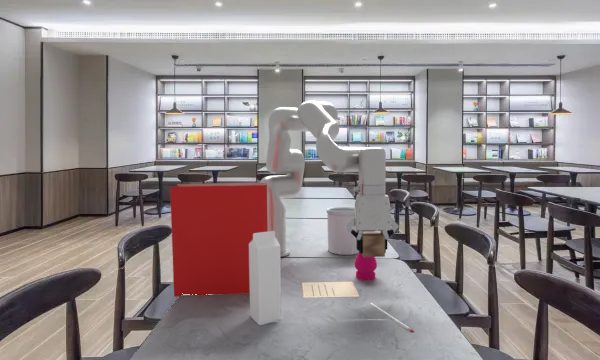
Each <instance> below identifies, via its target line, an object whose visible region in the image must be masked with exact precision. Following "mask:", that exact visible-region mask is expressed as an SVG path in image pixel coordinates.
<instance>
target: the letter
mask: <svg viewBox="0 0 600 360" xmlns="http://www.w3.org/2000/svg"><path fill="white" fill-rule="evenodd" d="M301 286H302V297H303V298H304V299H307V298H308V299H309V298H310V299H311V298H318V299H319V298H357V297H358V298H359V297H360V294H359V292H358V290H357V288H356V286H355V284H354V282H353V281H324V282H323V281H322V282H321V281H318V282H313V281H312V282H307V281H306V282H301Z"/></svg>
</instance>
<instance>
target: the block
mask: <svg viewBox="0 0 600 360" xmlns="http://www.w3.org/2000/svg"><path fill="white" fill-rule="evenodd" d="M362 241H363V253H362V255H363V257H375V258H380V257H381V258H385V257H386V255H385V254H386V253H385V235H383V234H382V233H381V231H364V232H363V235H362Z"/></svg>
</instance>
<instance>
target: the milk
mask: <svg viewBox="0 0 600 360" xmlns="http://www.w3.org/2000/svg"><path fill="white" fill-rule="evenodd" d="M281 262H282V261H281V257H280V244H279V243H278V241H277V239H276V237H275V231H269V232H261V233H254V234H253V240H252V241H251V242H250V243H249V280H250V293H249V317H251V318H252V320H254V322H255V323H256V324H257V325H258V326H264V325H267V324H271V323H274V322H275V323H276V322H277V321H281V320H282V287H281V286H282V281H281V280H282V279H281V278H282V277H281V275H282V273H281V271H282V270H281Z"/></svg>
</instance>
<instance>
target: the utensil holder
mask: <svg viewBox="0 0 600 360" xmlns="http://www.w3.org/2000/svg"><path fill="white" fill-rule="evenodd" d="M354 210H355V206H332V207H328V208H326V213H327V218H326V219H327V249H328V252H330V253H332V254H334V255H342V256H343V255H344V256H345V255H346V256H348V255H351V256H352V255H358V252H359V251H358V250H357V238H355V237H354V236H353V235H352V234H351V233H350V232H349V231H348V230H347V229H346V228H345V226H346V225H347V223H348V222H349V221H350V220H351V219H352V218H353V217H354ZM352 229H353V230H355V231H356V232H357V228H356V227H355V226H354V225H353V226H352Z"/></svg>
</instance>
